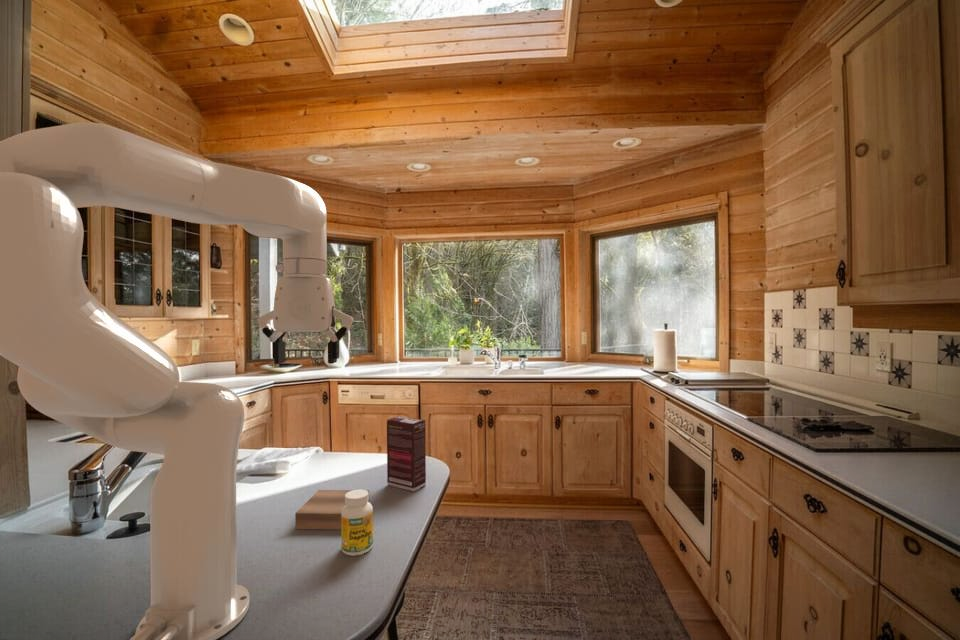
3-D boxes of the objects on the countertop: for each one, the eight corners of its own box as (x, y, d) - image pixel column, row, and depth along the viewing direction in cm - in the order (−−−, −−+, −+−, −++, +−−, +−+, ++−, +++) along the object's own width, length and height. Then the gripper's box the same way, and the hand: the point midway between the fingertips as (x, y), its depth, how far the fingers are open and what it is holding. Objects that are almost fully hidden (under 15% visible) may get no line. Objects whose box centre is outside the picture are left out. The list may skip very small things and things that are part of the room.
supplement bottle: (367, 537, 78) (367, 485, 78) (377, 550, 73) (377, 495, 73) (337, 546, 75) (337, 492, 75) (346, 560, 70) (346, 503, 70)
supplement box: (426, 485, 102) (426, 419, 102) (414, 492, 98) (413, 423, 98) (399, 478, 106) (399, 415, 106) (386, 485, 102) (385, 419, 102)
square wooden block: (352, 529, 81) (352, 513, 81) (295, 529, 81) (295, 513, 81) (369, 504, 92) (369, 490, 92) (318, 503, 92) (318, 489, 92)
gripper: (247, 268, 75) (248, 365, 75) (346, 268, 75) (347, 365, 75) (267, 272, 82) (268, 361, 82) (357, 272, 83) (358, 360, 83)
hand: (306, 363), depth 79 cm, fingers open, 9 cm apart
